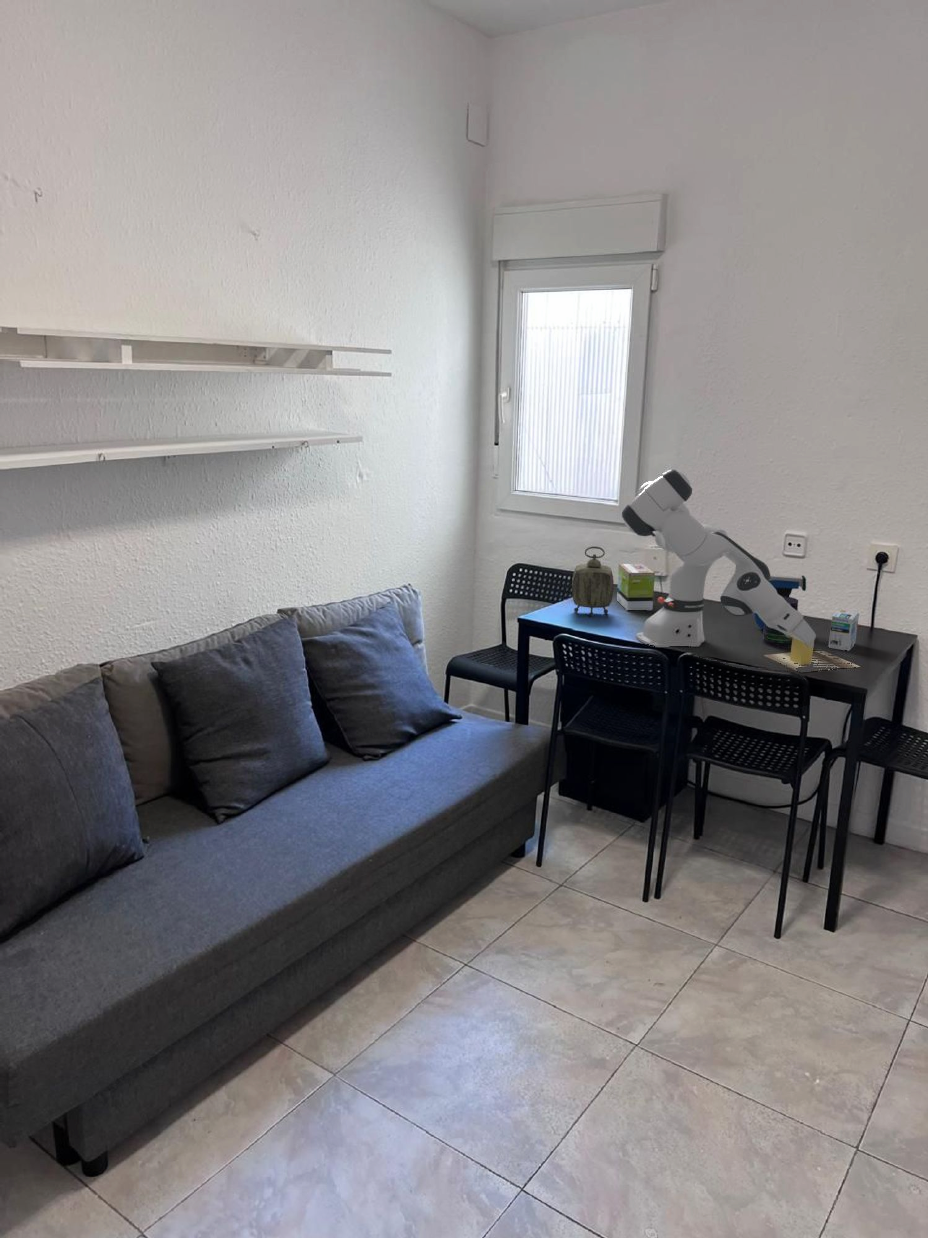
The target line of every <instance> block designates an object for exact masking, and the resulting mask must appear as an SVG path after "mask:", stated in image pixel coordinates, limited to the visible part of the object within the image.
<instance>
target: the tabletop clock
mask: <svg viewBox="0 0 928 1238" xmlns="http://www.w3.org/2000/svg"><path fill="white" fill-rule="evenodd" d="M591 549H592V550H593V549H597V550H601V551H602V552H603V554H601V555H599V556H597V554H595V553H594V554H593V555H588V554H587V552H588V550H591ZM584 554H585V556H586V557H587V558H589V560H588V561H587V563H583V564H579V565H576V566H575V568H574V570H573V575H572V581H571V582H572V583H571V587H572V588H571V590H572V599H573V600H572V601H573V603H574V605H575V606H577V607H574V609H573V612H574V613H578V612H579V608H580V607H582V608H588V609H589V608H590V612H589V613H588V615H589V617H591V616H592V617H594V615H595V614H594V612H593V610H594V609H597V608H598V609H599V608H601V609H602V608H603V614H608V613H609V610H608V609H606V607H609V606H610V605H611V603H612V600H613V597H614V596H613V595H614V589H615V588H614V585H615V584H614V583H615V581H614V575H613V574H614V573H613V571H612V568H611V567H610V566H608V565H605V564H602V563H601V561H600V560H599V559H600V558H603V557H604V556H605V554H606V553H605V550H604V549H603V548H602V547H600V546H589V547H587V548H586V549H585V551H584Z"/></svg>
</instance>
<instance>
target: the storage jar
mask: <svg viewBox="0 0 928 1238" xmlns="http://www.w3.org/2000/svg"><path fill="white" fill-rule="evenodd" d="M782 597H783V598H784V599H785V601H786V602H787V603H789V604H790V606H791V607H792V608H794V609H795V610H797V611H798V610H799V608H798V607H799V605H798V604H799V599H797V598H795V597H791V596H789V597H786V596H782ZM798 612H799V611H798ZM792 639H793V637H792V638H788V637H787V636H786V635H785V634H784V633H782V632H780V631H778V630H776V629H774V628H770V627H768V626H767V625H766V624H765V626H764V630H763V631H762V644H764V645H766V646H768V647H773V648H778V647H782V648H781V649H784V648H786V647H788V648H791V647H792Z"/></svg>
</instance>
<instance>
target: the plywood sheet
mask: <svg viewBox="0 0 928 1238" xmlns="http://www.w3.org/2000/svg"><path fill="white" fill-rule="evenodd" d="M813 652H814V653H813V655H814V656H812V658H830V659H812V660H816V661H812V662H814V663H818V662H819V663H842V664H818V665H827V666H813V667H826V668H827V667H831V668H833V667H834V668H835V667H837V668H841V667H842V668H843V667H844V668H847V669H854V667H856V668H861V666H859V665H858V664H855V663H853V662H851V661H848V660H846V659H843V658H842V657H839V656H836V655H834V656H828V655H833V654H832V653H830V652H827V651H825V650H823V651H813ZM820 652H822V653H820ZM815 655H818V656H815ZM820 655H826V656H820ZM763 656H764V657H766V658H767V659H770V660H772V661H774V662H776V663H779V664H780V663H781V665H783V666H784V665H785V667H787V668H789V669H791V670H793V671H795V672H797V670H796V668H798V667H807V666H801V665H800V664H794V663H795V662H793V661H791V660H790V656H791V652H784V653H783V652H781V653H772V654H763ZM783 658H785V659H783ZM833 658H839V659H833ZM818 660H823V661H818ZM844 663H845V664H844ZM847 663H850V664H847ZM851 663H852V664H851ZM786 665H787V666H786ZM799 665H800V666H799ZM809 665H810V664H809ZM813 665H817V664H813ZM828 665H834V666H828ZM835 665H837V666H835ZM838 665H840V666H838ZM843 665H844V666H843ZM846 665H847V666H846ZM851 665H852V666H851ZM808 667H809V666H808ZM819 670H820V669H819ZM821 670H822V669H821ZM828 671H834V670H833V669H832V670H830V669H828Z"/></svg>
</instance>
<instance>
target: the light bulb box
mask: <svg viewBox="0 0 928 1238" xmlns="http://www.w3.org/2000/svg"><path fill="white" fill-rule="evenodd" d="M859 617H860V613H859V612H854V611H848V610H841V609H838V610H837V611H836V612H835V613H834V614H833V615H831V624H830V630H829V631H830V632H829V639H828V647H829V648H830V649H835V650H838V651H839V650H841V651H845V650H847V651H846V652H849V651H851V649H852V648H854V646H855V645H854V644H856V638H857V633H858V632H857V631H858V624H859ZM828 647H827V648H828Z"/></svg>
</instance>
